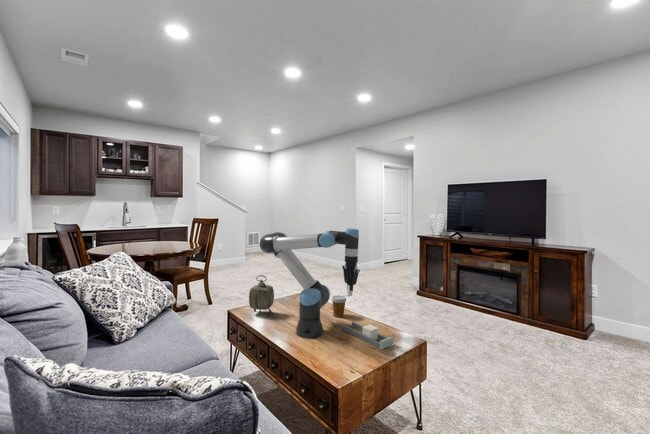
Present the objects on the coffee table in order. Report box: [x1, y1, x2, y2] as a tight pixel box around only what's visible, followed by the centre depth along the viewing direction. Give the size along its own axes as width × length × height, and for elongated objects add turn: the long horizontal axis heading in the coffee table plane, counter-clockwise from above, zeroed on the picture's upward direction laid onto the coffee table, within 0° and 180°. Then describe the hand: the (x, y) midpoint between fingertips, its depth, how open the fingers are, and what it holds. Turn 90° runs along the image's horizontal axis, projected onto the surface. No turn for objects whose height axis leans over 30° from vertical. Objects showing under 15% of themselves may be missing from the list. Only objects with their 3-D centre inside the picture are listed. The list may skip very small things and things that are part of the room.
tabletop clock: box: [248, 275, 275, 315], centre depth 203 cm, size 14×9×25 cm, turn 82°
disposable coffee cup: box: [331, 295, 347, 318], centre depth 202 cm, size 10×10×12 cm
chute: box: [341, 321, 394, 350], centre depth 172 cm, size 9×30×4 cm, turn 38°
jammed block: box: [361, 324, 379, 341], centre depth 170 cm, size 6×6×6 cm
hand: (349, 295), depth 182 cm, fingers closed
